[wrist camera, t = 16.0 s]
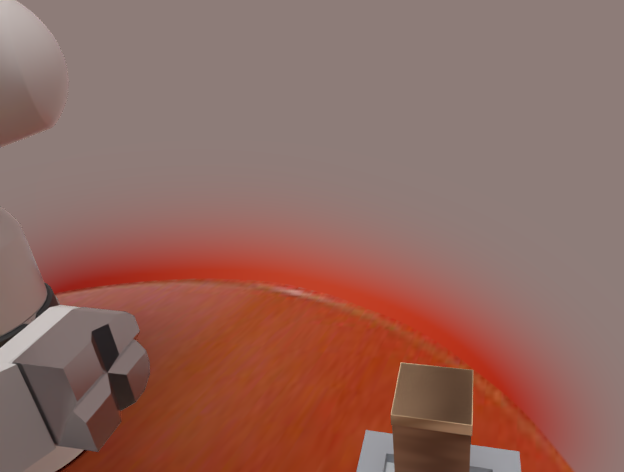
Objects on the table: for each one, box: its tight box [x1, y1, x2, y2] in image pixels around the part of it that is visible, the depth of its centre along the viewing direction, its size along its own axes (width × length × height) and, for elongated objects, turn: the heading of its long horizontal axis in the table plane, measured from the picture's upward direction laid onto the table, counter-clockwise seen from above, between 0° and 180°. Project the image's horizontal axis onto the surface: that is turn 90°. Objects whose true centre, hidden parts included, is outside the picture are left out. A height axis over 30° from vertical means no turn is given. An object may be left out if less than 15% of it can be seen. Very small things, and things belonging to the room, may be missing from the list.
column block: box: [391, 363, 473, 472], centre depth 35 cm, size 5×5×12 cm
